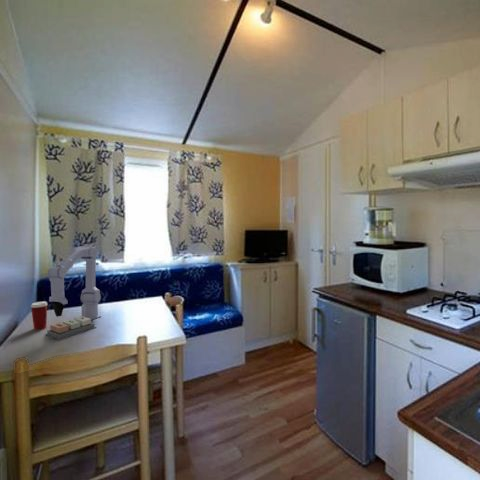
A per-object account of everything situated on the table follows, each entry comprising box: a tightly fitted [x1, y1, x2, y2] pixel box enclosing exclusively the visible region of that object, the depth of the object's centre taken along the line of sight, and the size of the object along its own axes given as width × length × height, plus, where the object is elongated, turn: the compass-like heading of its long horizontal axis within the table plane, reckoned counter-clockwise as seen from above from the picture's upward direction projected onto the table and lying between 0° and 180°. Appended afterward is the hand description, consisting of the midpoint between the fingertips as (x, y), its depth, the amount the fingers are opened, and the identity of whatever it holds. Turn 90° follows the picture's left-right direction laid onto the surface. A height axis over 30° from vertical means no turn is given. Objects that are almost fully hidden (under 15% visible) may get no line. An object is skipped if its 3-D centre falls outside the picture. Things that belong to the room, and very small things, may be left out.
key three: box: [49, 322, 69, 333], centre depth 148 cm, size 9×4×3 cm, turn 58°
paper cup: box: [30, 301, 48, 331], centre depth 158 cm, size 8×8×14 cm
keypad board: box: [44, 322, 97, 341], centre depth 154 cm, size 13×20×2 cm, turn 148°
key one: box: [73, 315, 92, 326], centre depth 159 cm, size 9×4×3 cm, turn 58°
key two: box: [62, 319, 80, 329], centre depth 153 cm, size 9×4×3 cm, turn 58°
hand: (58, 315), depth 148 cm, fingers closed
